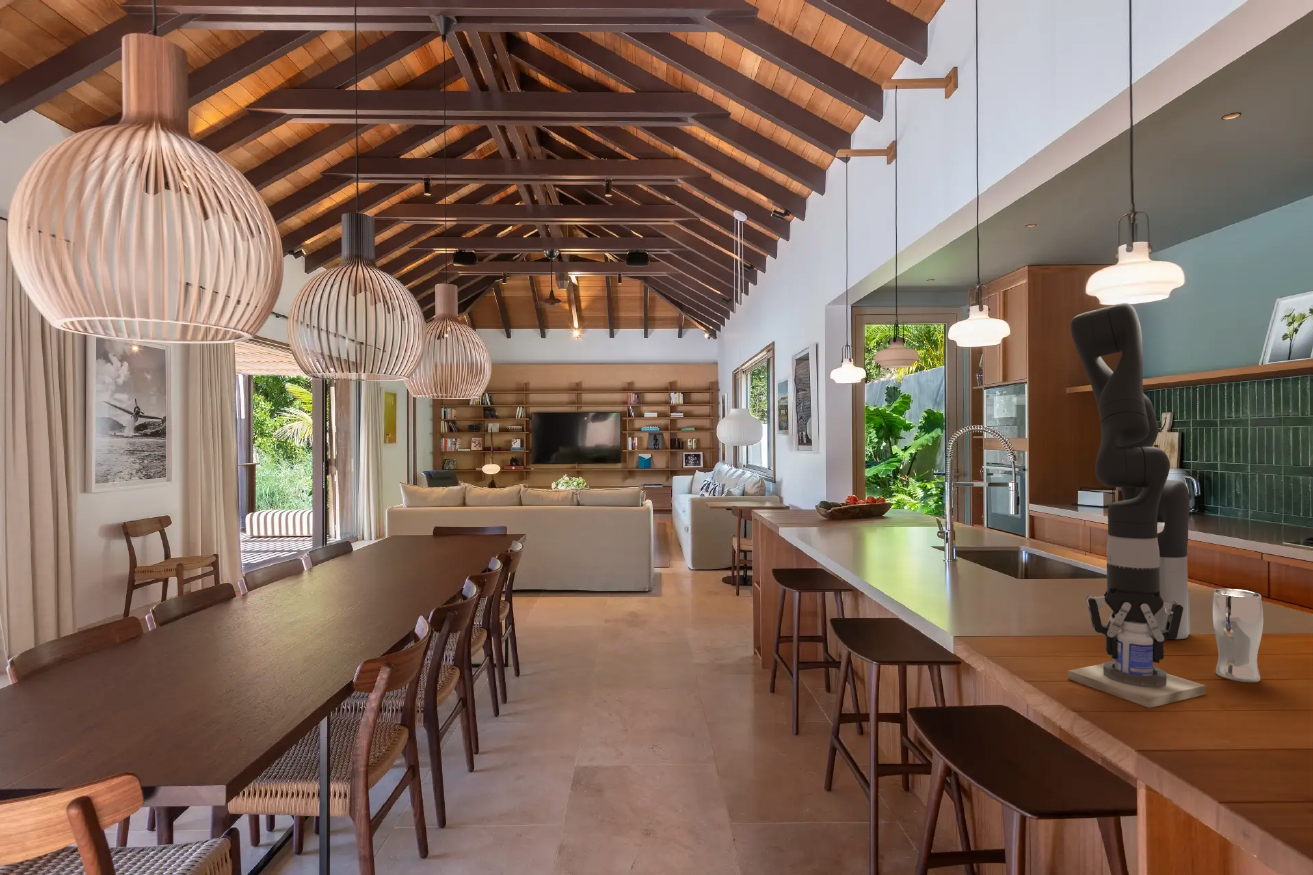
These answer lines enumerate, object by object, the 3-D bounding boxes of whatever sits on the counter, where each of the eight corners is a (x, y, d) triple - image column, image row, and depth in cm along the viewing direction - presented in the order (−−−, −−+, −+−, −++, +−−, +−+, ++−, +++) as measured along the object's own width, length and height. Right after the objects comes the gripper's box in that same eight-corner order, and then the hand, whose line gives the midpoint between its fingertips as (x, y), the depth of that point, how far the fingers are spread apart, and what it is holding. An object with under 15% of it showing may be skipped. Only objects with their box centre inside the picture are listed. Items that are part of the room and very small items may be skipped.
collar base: (1122, 667, 127) (1122, 651, 127) (1205, 694, 114) (1205, 676, 114) (1068, 678, 122) (1068, 662, 122) (1149, 707, 109) (1148, 689, 109)
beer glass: (1252, 671, 124) (1251, 589, 124) (1272, 685, 117) (1271, 598, 117) (1205, 668, 126) (1204, 587, 126) (1223, 681, 119) (1222, 595, 119)
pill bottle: (1158, 679, 117) (1160, 623, 117) (1143, 684, 114) (1145, 627, 114) (1123, 669, 122) (1125, 615, 121) (1108, 674, 119) (1110, 619, 119)
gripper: (1177, 560, 118) (1178, 657, 118) (1080, 555, 124) (1081, 648, 124) (1190, 568, 111) (1191, 671, 112) (1087, 563, 117) (1088, 661, 117)
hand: (1133, 658), depth 118 cm, fingers closed on pill bottle, 5 cm apart
